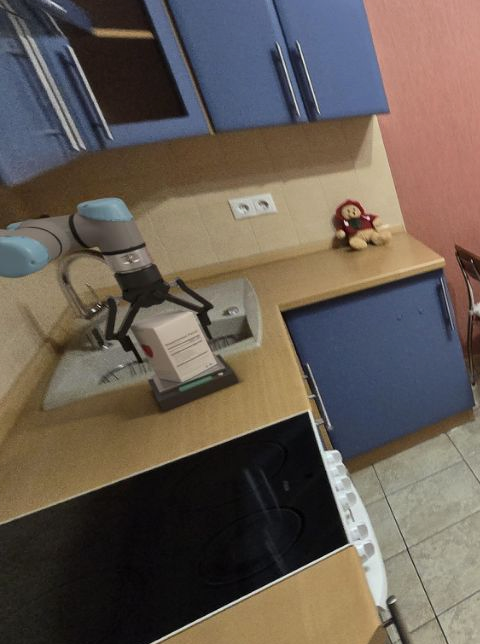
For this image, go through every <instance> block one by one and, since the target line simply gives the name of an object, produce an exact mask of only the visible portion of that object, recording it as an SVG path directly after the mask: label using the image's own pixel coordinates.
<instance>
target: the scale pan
mask: <svg viewBox="0 0 480 644" xmlns="http://www.w3.org/2000/svg"><path fill="white" fill-rule="evenodd" d="M212 354H213V356H214V358H215V360H216V362H217V364H216V365H214V366H212V367H211V368H209V369H207V370H205V371H203V372H201V373H199V374H197V375H196V376H194V377H192V378H190V379H188V380H186V381H184V382H182V383H180V382H175V381H169V380H164V379H158V377H157V376H156V374H155V373H154V374H153V375H151V379H152V378H153V380H154V382H155V384H156V386H157V388H158V390H159V392H160V394H164V393H167V392H169V391H172V390H174V389H177V388H180V387H182V386H185V385H188V384H190V383H193V382H195V381H198V380H201V379H203V378H206V377H209V376H211V375H214V374H217V373H219V372H222V371H224V370H226V368H225V367H224V365H223V364H222V363H221V362H220V360H219V359H218V358H217V357H216V355H217V354H215V353H212Z"/></svg>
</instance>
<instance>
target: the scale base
mask: <svg viewBox="0 0 480 644" xmlns="http://www.w3.org/2000/svg"><path fill="white" fill-rule="evenodd" d="M215 355H216V357H217V358H218V359H219V360H220V362H221V363H222V364H223V365H224V367H225V368H226V370H224V371H222V372H219V373H217V374H214V375H211V376H209V377H206V378H203V379H201V380H198V381H195V382H193V383H190V384H188V385H185V386H182V387H180V388H177V389H174V390H172V391H169V392H167V393H164V394H160V392H159V390H158V388H157V386H156V384H155V382H154V380H153V378H152V377H151V378H150V379H147V382H148V384H149V386H150V388H151V391H152V392H153V395H154V396H155V398H156V401H157V403H158V404H159V406H160V408H161V410H162V411H163V413H166V412H167V411H170V410H173V409H175V408H178V407H181V406H183V405H185V404H188V403H190V402H193V401H195V400H198V399H200V398H203V397H205V396H208V395H210V394H213V393H215V392H216V393H217V392H218V391H220V390H223V389H225V388H228V387H231V386H233V385H235V384H238V383H239V379H238V377H237V376H236V372H234V370H233V369H232V368H231V367H230V365H229V364H228V363H227V361H226V360H225V359H224V357H223V356H222V355H221V354H219V353H218V354H215Z"/></svg>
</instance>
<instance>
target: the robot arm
mask: <svg viewBox="0 0 480 644" xmlns="http://www.w3.org/2000/svg"><path fill="white" fill-rule="evenodd" d="M76 208H77V212H76V213H72V214H68V215H60V216H58V215H57V216H52V217H44V218H37V219H26V220H23V221H19V222H13V223H10V224H9V225H7V227H6V229H3V228H0V277H2V278H7V279H20V278H24V277H28V276H31V275H32V274H35V273H37V272H39V271H41V270H43V269H44V268H45V267H46V266H47V265H49V264H50V263H52V262H54V261H56V260H57V259H59V258H60V257H62V256H63V255H65V254H67V253H71V252H72V253H73V252H76V251H77V252H78V251H82V250H89V249H94V248H98V250H99V251H100V253H101V255H102V257H103V259H104V261H105V262H106V265H107V266H108V268H109V270H110V271H111V272H112V273H113V272H114V274H113V277H114V280H115V281H116V283H117V285H118V286H119V289H120V290H121V294H118V295H113V296H112V295H106V296H105V301H106V303H107V304H106V305H107V311H106V320H105V326H104V334H103V337H104V340H105V341H107V342H111V341H118V342H119V344H120V346H121V348H122V350H123V352H125V353H129V352H132V354H133V355H134V357H135V359H136V361H137V362H138V365H141V364H143V363H144V360H143V359H142V357H141V355H140V353H139V351H138V349H137V348H136V346H135V344H134V342H133V341H132V338H131V337H130V335H129V334H128V332H129V330H130V326H131V324H132V323H134V320H135V317H136V316H137V315H138V313H139V311H140V309H141V308H142V309H148V308H152V307H153V306H158V305H162V304H163V303H164V302H165V301H166V302H169V303H172V304H175V305H177V306H180V307H182V308H186V309H188V310H190V311H191V312H192V311H193V312H195V316H196V317H197V319H198V322H199V324H200V326H201V328H202V330H203V332H204V334H205V336H206V337H207V338H206V339H208V340H209V341H210V340H213V339H214V337H213V336H212V333H211V331H210V330H209V328H208V327H209V326H211V325H212V321H211V318H210V316H209V314H208V312H209V311H211V310H213V309H214V308H215V305H214V304H213V303H212V302H210V301H209V300H207V299H206V298H205V297H203V296H201V295H200V294H199V293H197V292H196V291H194V290H193V289H192V288H191V287H190V286H188V285H186V283H185V281H184V280H183V279H182V278H181V277H180V276H177V277H175V278H174V279H172V280H170V281H166V280H165V279H164V278H163V275H162V273H161V270H159V268H158V266H157V264H155V263H154V261H155V260H154V257H153V255H152V253H151V251H150V249H149V247H148V246H147V244H146V242H145V240H144V237H143V236H142V234H141V231H140V229H139V228H138V225H137V223H136V221H135V217H134V215H132V214H131V212H130V210H129V208H128V206H127V205H126V203H125V201H123V200H122V199H121V198H118V197H104V198H99V199H93V200H92V199H91V200H87V201H83V202H81V203H79V204H77V206H76ZM171 288H174V289H177V290H179V289H180V290H181V291H182V292H184V293H186V294H187V295H188V296H190V297H191V298H193V300H195V301H197V302H198V303H200V304H201V305H203V306H200V305H197V304H195V303H193V302H190V301H188V300H185V299H182V298H180V297H178V296H175V295H173V294H171V293H169V292H170V289H171ZM122 301H125V302H126V303H129V304H130V305H129V307H128V310H127V312H126V314H125V316H124V317H123V319H122V322H121V324H120V326H119V327H118V330H117V331H116V332H115V327H116V319H117V312H118V306H120V305H121V302H122Z"/></svg>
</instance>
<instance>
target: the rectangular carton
mask: <svg viewBox="0 0 480 644" xmlns="http://www.w3.org/2000/svg"><path fill="white" fill-rule="evenodd" d="M129 330H131V332H132V334H133V336H134V338H135V340H136V342H137V343H138V346H139V347H140V348H141V351H142V352H143V354H144V356H145V357H146V359H147V361H148V364H149V365H150V367H151V369H152V371H153V372H154V375H155V374H156V376H157V377H158V379H164V380H169V381H175V382H180V383H182V382H184V381H186V380H188V379H190V378H192V377H194V376H196V375H197V374H199V373H201V372H203V371H205V370H207V369H209V368H211V367H212V366H214V365H216V364H217V362H216V360H215V358H214V356H213V354H214V353H213V352H212V350H211V348H210V346H209V344H208V341H207V340H206V338H205V335H204V333H203V332H202V330H201V328H200V325H199V323H198V321H197V318H196V317H195V315H194V313H193V312H192V311H187V310H182V309H170V308H166V309H164V310H162V311H160V312H157V313H154V314H152V315H150V316H148V317H145V318H142V319H139V320H137V321H133V322H132V324H131V326H130V328H129Z"/></svg>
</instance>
